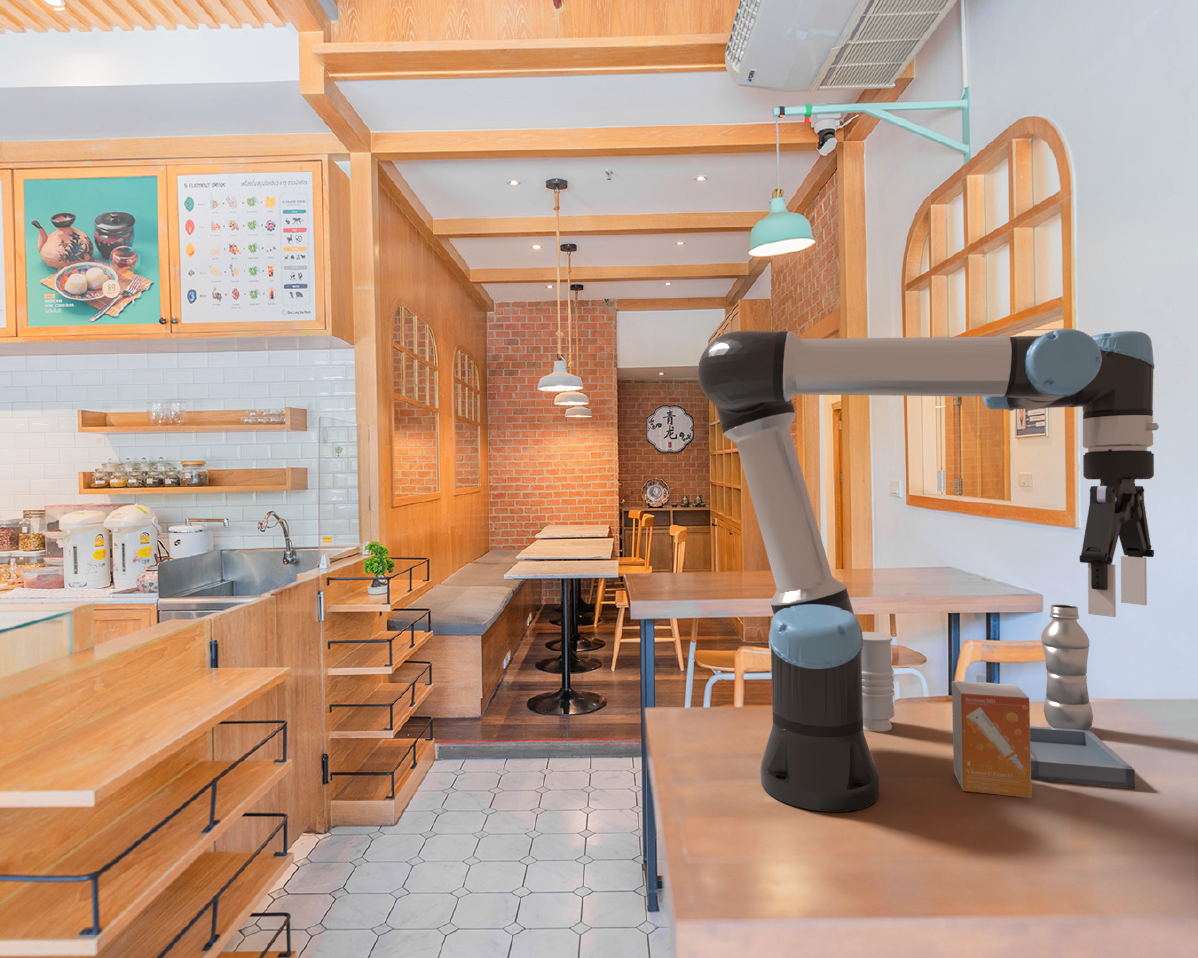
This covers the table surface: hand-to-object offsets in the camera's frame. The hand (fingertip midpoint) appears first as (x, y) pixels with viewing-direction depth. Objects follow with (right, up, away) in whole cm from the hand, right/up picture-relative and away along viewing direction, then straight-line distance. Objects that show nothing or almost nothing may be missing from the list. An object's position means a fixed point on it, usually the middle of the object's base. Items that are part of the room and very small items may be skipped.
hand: (1118, 609), depth 91 cm
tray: (-3, -23, +7) cm, 25 cm away
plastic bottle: (+7, -24, +20) cm, 32 cm away
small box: (-17, -24, 0) cm, 29 cm away
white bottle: (-23, -24, +24) cm, 41 cm away
